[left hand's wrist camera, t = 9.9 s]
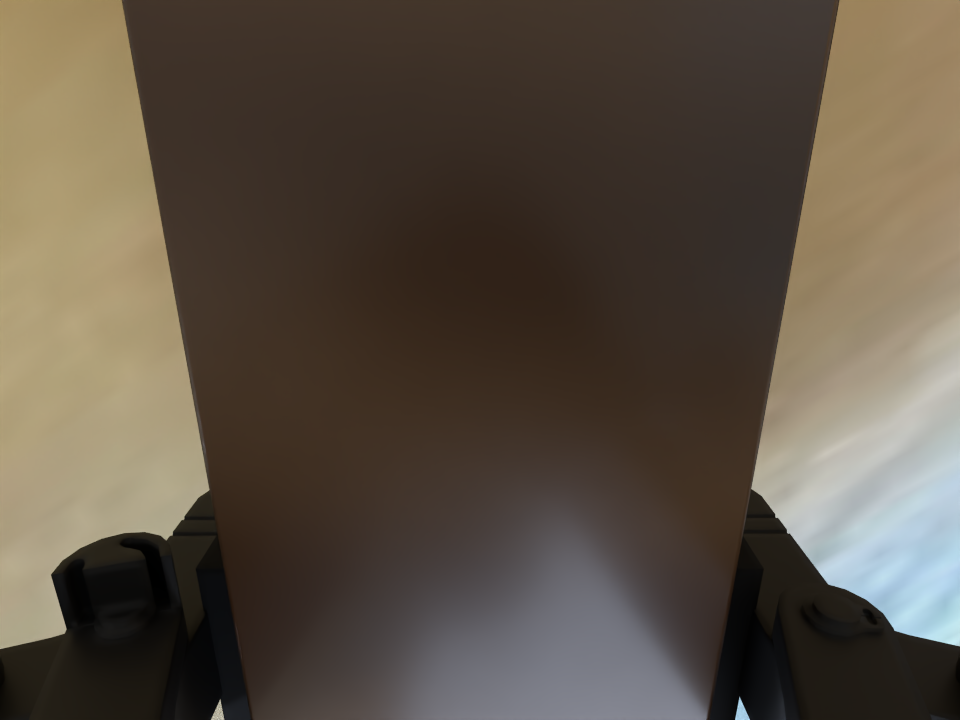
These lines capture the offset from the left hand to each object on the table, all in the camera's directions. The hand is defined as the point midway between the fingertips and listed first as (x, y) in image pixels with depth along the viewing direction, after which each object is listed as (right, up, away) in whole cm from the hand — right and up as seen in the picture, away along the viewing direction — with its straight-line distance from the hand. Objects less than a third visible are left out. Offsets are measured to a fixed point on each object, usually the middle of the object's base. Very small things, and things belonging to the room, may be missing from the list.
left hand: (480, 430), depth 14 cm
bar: (0, +22, -8) cm, 24 cm away
